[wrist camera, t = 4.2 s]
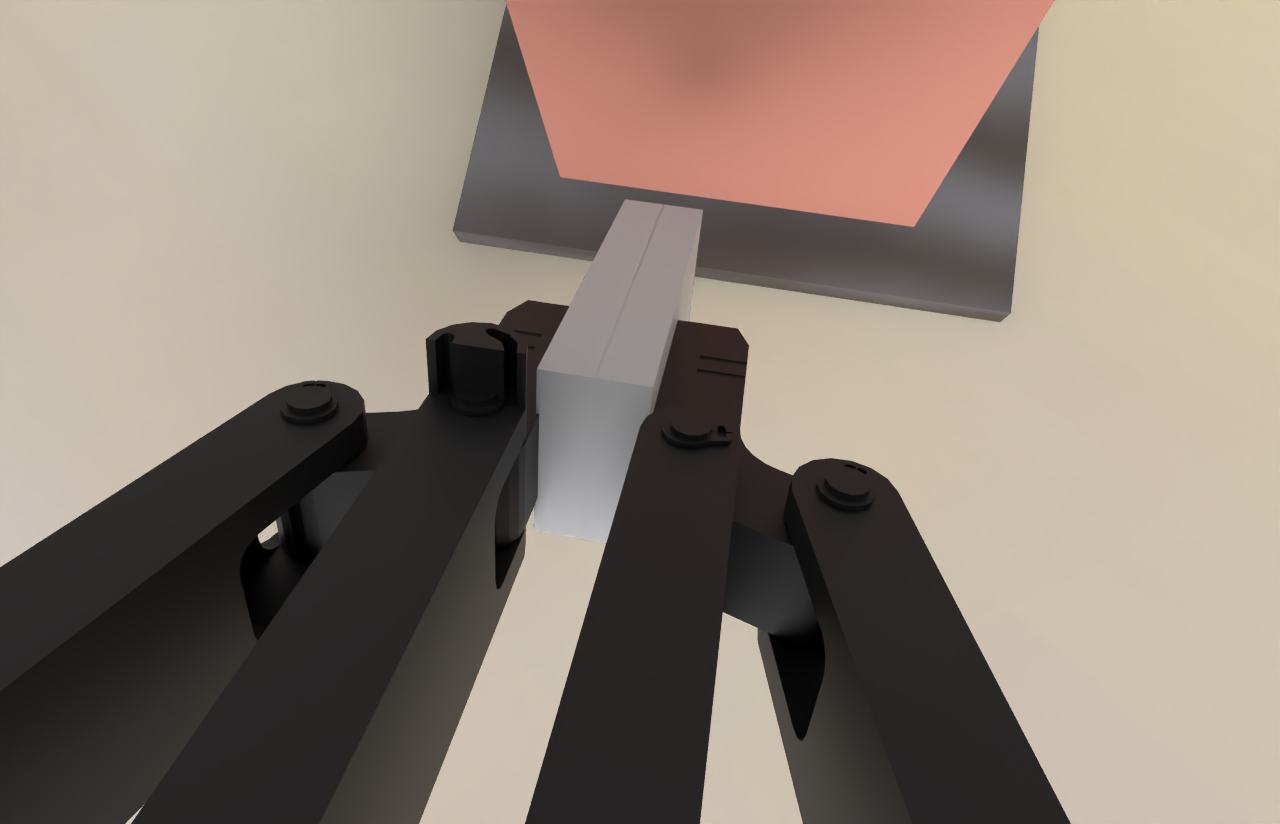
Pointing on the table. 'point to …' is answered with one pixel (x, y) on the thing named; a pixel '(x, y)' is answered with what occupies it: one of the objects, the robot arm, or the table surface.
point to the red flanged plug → (771, 94)
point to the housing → (767, 210)
